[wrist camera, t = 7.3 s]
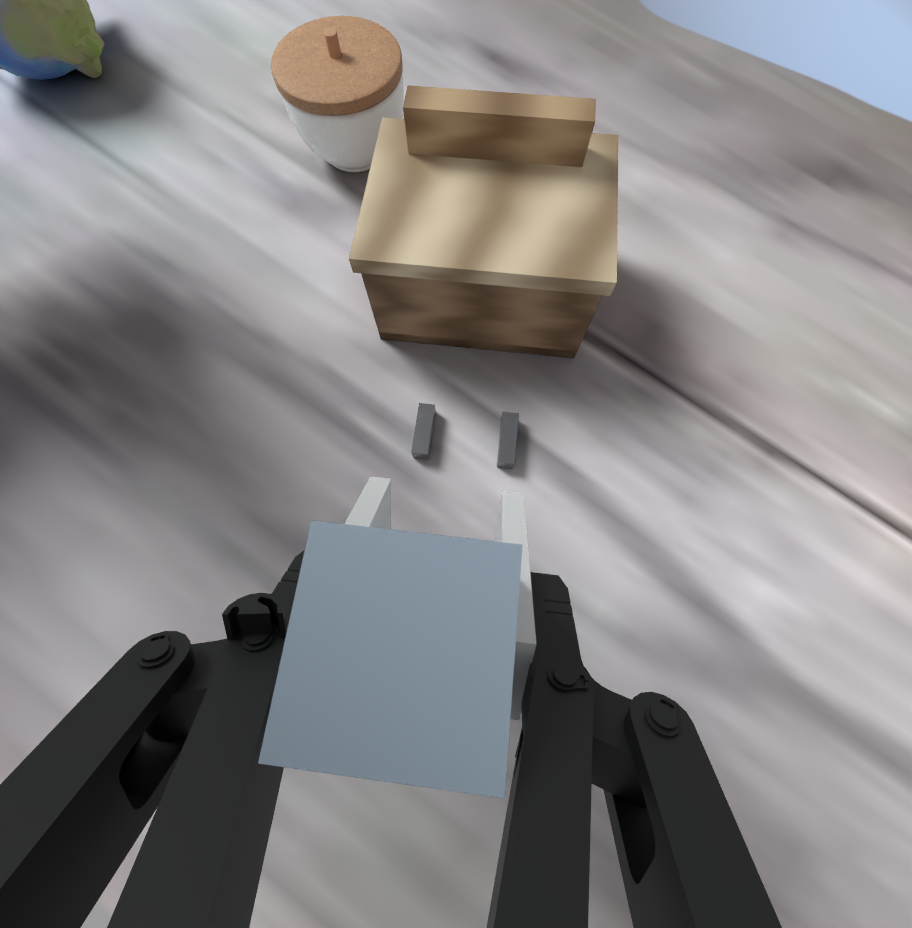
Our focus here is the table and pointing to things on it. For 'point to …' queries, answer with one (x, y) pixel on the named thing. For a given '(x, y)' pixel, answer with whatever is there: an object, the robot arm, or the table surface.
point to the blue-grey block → (399, 660)
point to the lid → (492, 193)
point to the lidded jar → (340, 86)
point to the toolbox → (480, 315)
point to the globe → (49, 38)
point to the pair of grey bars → (426, 429)
